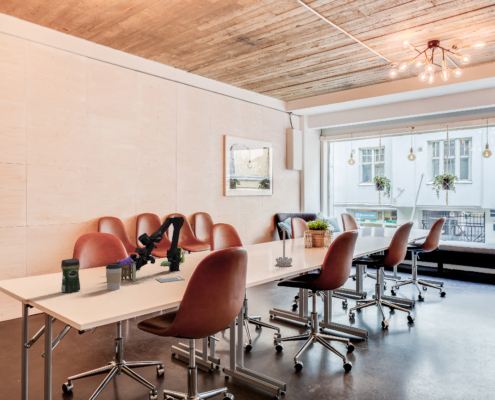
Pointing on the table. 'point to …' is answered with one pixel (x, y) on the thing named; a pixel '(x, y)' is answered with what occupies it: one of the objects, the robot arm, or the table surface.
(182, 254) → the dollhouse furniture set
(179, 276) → the card
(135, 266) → the sage fence section
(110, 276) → the coffee cup
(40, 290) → the table surface
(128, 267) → the walnut fence section
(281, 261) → the flag stand
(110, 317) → the table surface
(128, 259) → the toy sofa
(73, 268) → the coffee jar
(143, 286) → the table surface
